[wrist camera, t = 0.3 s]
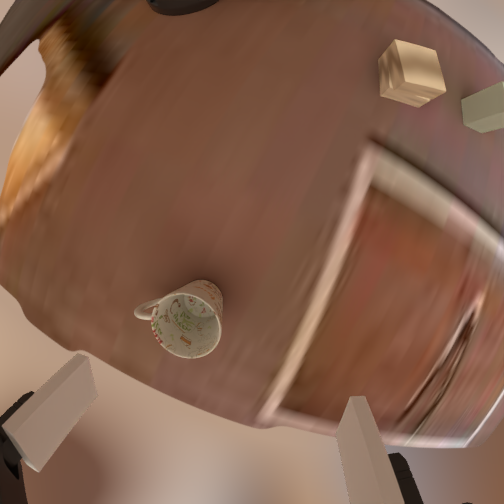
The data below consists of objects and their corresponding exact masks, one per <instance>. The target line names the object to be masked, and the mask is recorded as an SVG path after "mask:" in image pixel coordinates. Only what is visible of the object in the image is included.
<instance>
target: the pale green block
mask: <svg viewBox="0 0 504 504" xmlns="http://www.w3.org/2000/svg"><path fill="white" fill-rule="evenodd" d="M461 104H462V114H463V125H465V126H467V127H469V128H471V129H474V130H476V131H478V132H480V133H485V132H489V131H493V130H497V129H501V128H504V82H503V81H502V82H499V83H497V84H495V85H493V86H490V87H488V88H486V89H484V90H481V91H479V92H477V93H475V94H473V95H470V96H468V97H466V98H464V99H462V100H461Z"/></svg>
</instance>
